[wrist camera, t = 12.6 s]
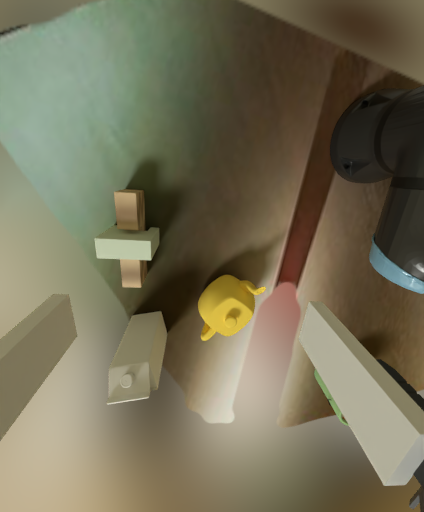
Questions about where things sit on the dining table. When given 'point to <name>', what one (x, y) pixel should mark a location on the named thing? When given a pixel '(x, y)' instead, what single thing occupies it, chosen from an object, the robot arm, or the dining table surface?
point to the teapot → (227, 305)
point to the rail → (131, 218)
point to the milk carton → (138, 359)
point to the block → (127, 244)
